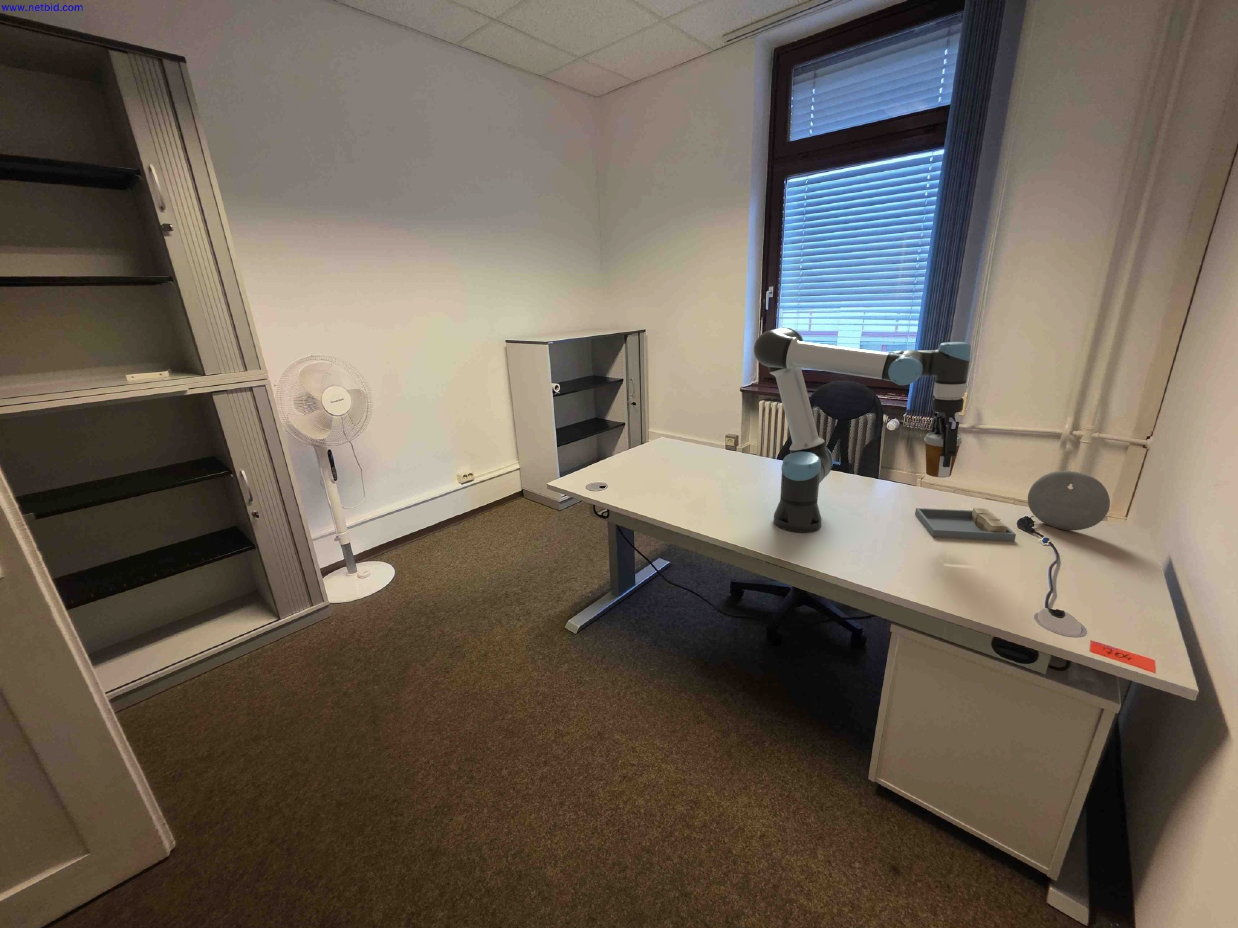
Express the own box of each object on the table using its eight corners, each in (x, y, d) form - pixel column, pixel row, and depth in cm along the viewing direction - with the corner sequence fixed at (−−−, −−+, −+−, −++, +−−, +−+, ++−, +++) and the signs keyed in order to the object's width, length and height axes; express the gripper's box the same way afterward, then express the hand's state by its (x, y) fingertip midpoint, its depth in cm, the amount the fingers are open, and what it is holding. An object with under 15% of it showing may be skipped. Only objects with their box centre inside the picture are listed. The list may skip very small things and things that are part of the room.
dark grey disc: (1101, 533, 148) (1118, 475, 142) (1099, 541, 143) (1117, 482, 137) (1024, 516, 161) (1036, 462, 155) (1020, 524, 156) (1032, 468, 150)
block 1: (974, 524, 156) (976, 512, 155) (971, 519, 160) (973, 507, 158) (989, 525, 155) (992, 514, 153) (985, 520, 158) (988, 509, 157)
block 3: (989, 537, 147) (991, 525, 146) (983, 531, 151) (985, 519, 150) (1004, 538, 147) (1007, 526, 145) (997, 532, 150) (1000, 520, 149)
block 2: (984, 531, 151) (986, 519, 150) (976, 525, 155) (978, 514, 154) (997, 531, 151) (1000, 519, 150) (989, 525, 155) (991, 514, 153)
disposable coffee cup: (962, 479, 142) (968, 440, 139) (925, 479, 145) (930, 440, 141) (949, 469, 151) (955, 431, 147) (915, 469, 153) (919, 432, 150)
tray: (932, 538, 150) (933, 529, 149) (914, 516, 165) (915, 508, 164) (1014, 543, 145) (1016, 534, 144) (988, 519, 160) (989, 511, 159)
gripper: (978, 404, 130) (966, 484, 137) (950, 390, 149) (940, 461, 156) (946, 404, 132) (935, 483, 139) (922, 391, 151) (914, 461, 158)
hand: (938, 471), depth 148 cm, fingers closed on disposable coffee cup, 8 cm apart
